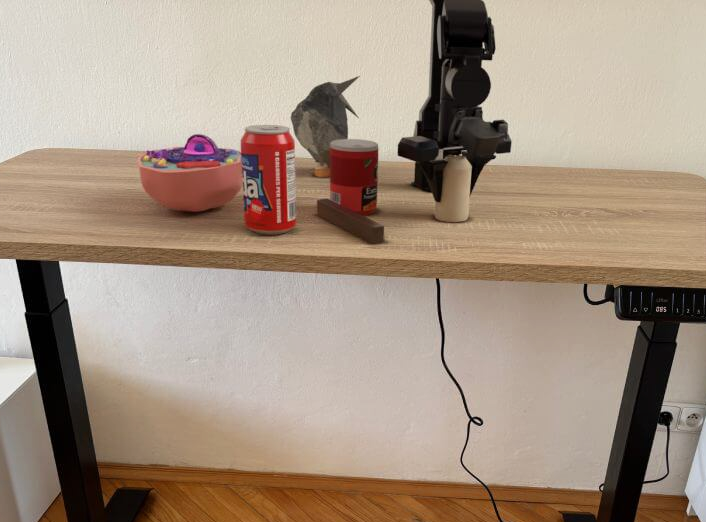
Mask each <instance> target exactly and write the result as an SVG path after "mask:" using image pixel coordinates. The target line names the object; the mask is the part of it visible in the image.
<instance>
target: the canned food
mask: <svg viewBox="0 0 706 522" xmlns="http://www.w3.org/2000/svg"><path fill="white" fill-rule="evenodd" d="M378 178H379V144H378V143H377V142H376V141H373V140H368V139H358V138H348V139H340V140H335V141H332V142H331V143H330V177H329V200H332V201H334V202H336V203H338V204H340V205H342V206H344V207H346V208H348V209H350V210H352V211H354V212H357V213H359V214H361V215H363V216H369V215H373V214H374V213H376V211H377V207H378V182H379V181H378V180H379V179H378Z"/></svg>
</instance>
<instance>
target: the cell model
mask: <svg viewBox="0 0 706 522" xmlns="http://www.w3.org/2000/svg"><path fill="white" fill-rule="evenodd" d="M136 161H137V165H138V170H139V175H140V183H141V187H142V188H143V190H144V191H145V193H146V194H147V195H148V196H149V197H150V198H151V199H153V200H154V201H156V202H157V203H159V204H160V205H162V206H164V207H165V208H167V209H169V210H173V211H183V212H193V213H194V212H195V213H196V212H201V213H202V212H205V211H207V210H210V209H216V208H219V207H222V206H225V205H227V204H229V203H230V202H232V201H233V200H234V198H235V197H237V195H238V193H240V191H241V189H242V188H243V182H242V162H241V151H239V150H237V149H233V148H221V147H218V145H217V143H216V142H215V141H214V140H213V138H212V137H209V136H207V135H206V134H202V133H197V134H192V135H191V136H189V137H188V138H187V141H186V143H185V144H184V146H175V147H173V146H171V147H168V148H167V147H166V148H162V149H151V150H148V149H147V150H146V152H144V153H142V154H140V155H139V156H138V157H137V159H136Z"/></svg>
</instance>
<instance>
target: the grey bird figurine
mask: <svg viewBox="0 0 706 522" xmlns="http://www.w3.org/2000/svg"><path fill="white" fill-rule="evenodd" d="M360 77H361V75H358V76H356V77H353V78H351V79H347V80H345V81H342V82H332V81H327V82H323V83H321V84H318V85H316V86H314V87H313V88H312V89H311V90H310V92H309V93H308V95H307V96H306V97H305V98H304V99H303V100H301V101H300V102H299V103H298V104H297V105H296V106H295V109H294V110H293V111H291V114H290V121H291V124H292V129H293V133H294V136H295V138H296V140H297V141H298V142H299V144H300V146H301V147H302V148H304V149H305V150H306V151H307V152H308V153H309V155H310V156H311V157H312V158H313V160H314V176H315V177H317V178H330V143H331V142H332V141H335V140H340V139H349V124H348V115H347V110H348V111H349V113H351V114H352V115H354V116H355V117H356V118H357V119H360V117H359V116H358V115H357V113H356V112H355V110H354V109H353V107H352V106H351V105H350V103H349V102H348V100H347V99H346V98H345V96H344V95H343V93H344V92H345V91H346V90H347V89H348V88H349V87H351V86H352V85H353V83H355V82H356V81H357V80H358V79H359V78H360Z"/></svg>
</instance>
